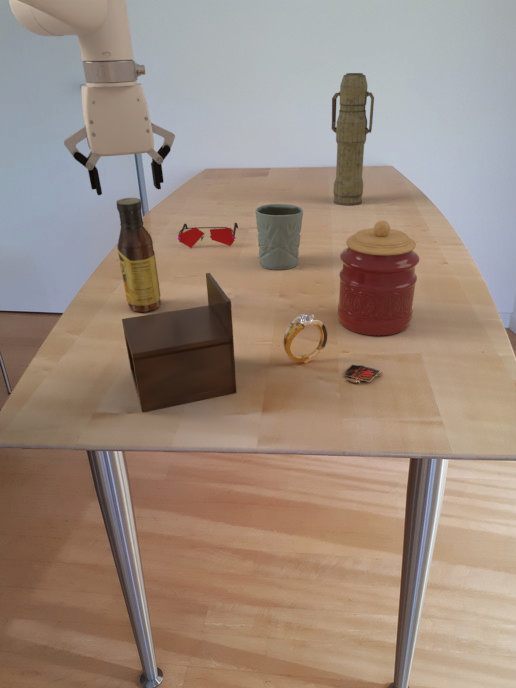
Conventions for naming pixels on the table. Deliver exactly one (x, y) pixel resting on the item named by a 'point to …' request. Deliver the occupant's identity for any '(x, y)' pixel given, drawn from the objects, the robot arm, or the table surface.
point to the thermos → (351, 137)
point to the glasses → (217, 235)
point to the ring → (303, 321)
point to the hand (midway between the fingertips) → (128, 190)
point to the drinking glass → (279, 235)
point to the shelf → (183, 352)
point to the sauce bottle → (137, 258)
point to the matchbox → (361, 373)
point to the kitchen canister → (377, 281)
